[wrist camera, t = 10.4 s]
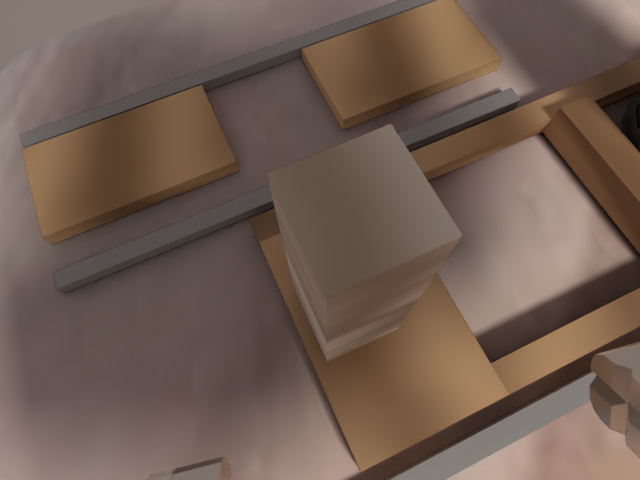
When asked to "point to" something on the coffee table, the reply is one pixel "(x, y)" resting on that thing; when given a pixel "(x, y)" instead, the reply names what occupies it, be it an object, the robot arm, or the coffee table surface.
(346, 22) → the lane rails
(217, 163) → the broken strip
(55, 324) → the coffee table surface
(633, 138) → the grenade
